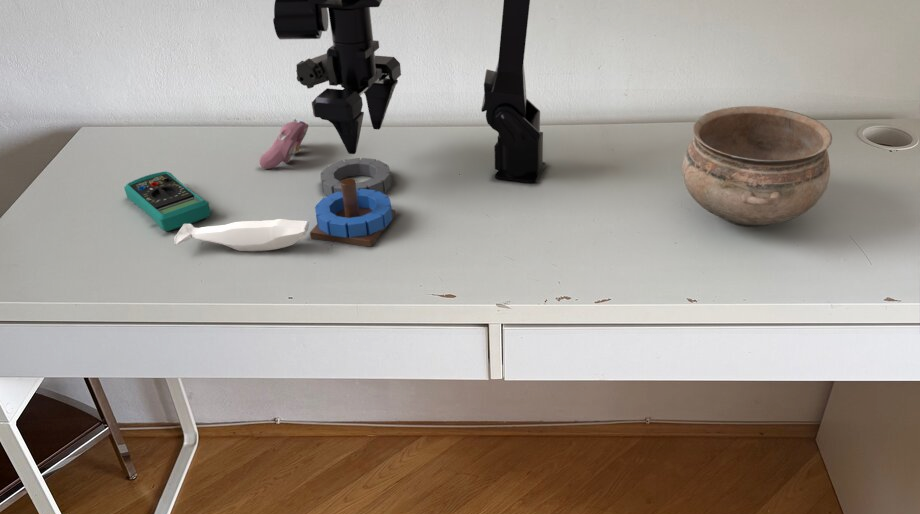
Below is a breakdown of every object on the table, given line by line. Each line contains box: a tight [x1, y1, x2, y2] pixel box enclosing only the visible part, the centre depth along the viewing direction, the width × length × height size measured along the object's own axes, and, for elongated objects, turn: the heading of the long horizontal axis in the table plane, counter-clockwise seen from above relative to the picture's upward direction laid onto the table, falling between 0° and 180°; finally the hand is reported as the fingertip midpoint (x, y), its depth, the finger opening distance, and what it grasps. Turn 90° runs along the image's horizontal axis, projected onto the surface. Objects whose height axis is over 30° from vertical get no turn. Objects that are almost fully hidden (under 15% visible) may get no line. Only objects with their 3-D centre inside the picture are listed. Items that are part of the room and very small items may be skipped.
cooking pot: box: [681, 105, 833, 228], centre depth 118 cm, size 25×19×12 cm
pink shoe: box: [258, 118, 309, 170], centre depth 140 cm, size 10×5×7 cm, turn 168°
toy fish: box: [173, 218, 310, 252], centre depth 118 cm, size 6×18×4 cm, turn 85°
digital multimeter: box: [123, 171, 212, 232], centre depth 129 cm, size 7×15×3 cm, turn 39°
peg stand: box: [309, 177, 397, 248], centre depth 121 cm, size 9×9×7 cm
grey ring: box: [320, 157, 393, 196], centre depth 133 cm, size 10×10×2 cm
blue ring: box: [314, 189, 394, 238], centre depth 122 cm, size 10×10×2 cm
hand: (364, 140), depth 133 cm, fingers open, 9 cm apart
